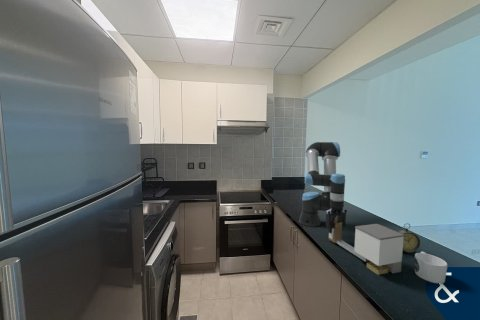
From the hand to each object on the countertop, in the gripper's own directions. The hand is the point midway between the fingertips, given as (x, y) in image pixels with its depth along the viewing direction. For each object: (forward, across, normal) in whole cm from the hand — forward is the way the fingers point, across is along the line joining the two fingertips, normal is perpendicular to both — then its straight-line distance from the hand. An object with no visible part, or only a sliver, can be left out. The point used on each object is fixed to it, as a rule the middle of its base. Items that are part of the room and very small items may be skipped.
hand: (334, 237), depth 119 cm
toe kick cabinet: (+3, +2, -25) cm, 25 cm away
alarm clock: (+3, +30, -19) cm, 36 cm away
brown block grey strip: (+2, 0, -10) cm, 10 cm away
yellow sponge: (+3, 0, -27) cm, 28 cm away
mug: (+3, +20, -36) cm, 41 cm away
